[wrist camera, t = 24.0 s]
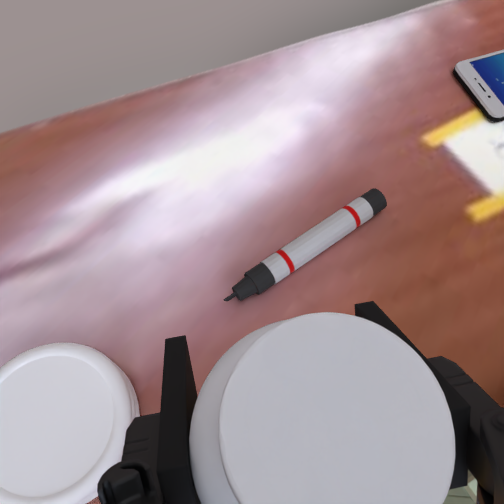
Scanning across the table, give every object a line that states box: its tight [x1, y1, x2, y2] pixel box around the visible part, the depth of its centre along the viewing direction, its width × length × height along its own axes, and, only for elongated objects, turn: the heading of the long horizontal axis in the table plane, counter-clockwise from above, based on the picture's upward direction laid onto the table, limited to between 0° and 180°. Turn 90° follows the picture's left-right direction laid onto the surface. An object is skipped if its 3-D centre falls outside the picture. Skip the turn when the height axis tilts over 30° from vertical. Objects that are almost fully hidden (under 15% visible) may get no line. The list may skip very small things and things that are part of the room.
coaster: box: [0, 343, 140, 504], centre depth 29 cm, size 10×10×4 cm
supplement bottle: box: [189, 312, 455, 504], centre depth 15 cm, size 7×7×13 cm
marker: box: [224, 189, 387, 301], centre depth 36 cm, size 15×2×2 cm, turn 126°
